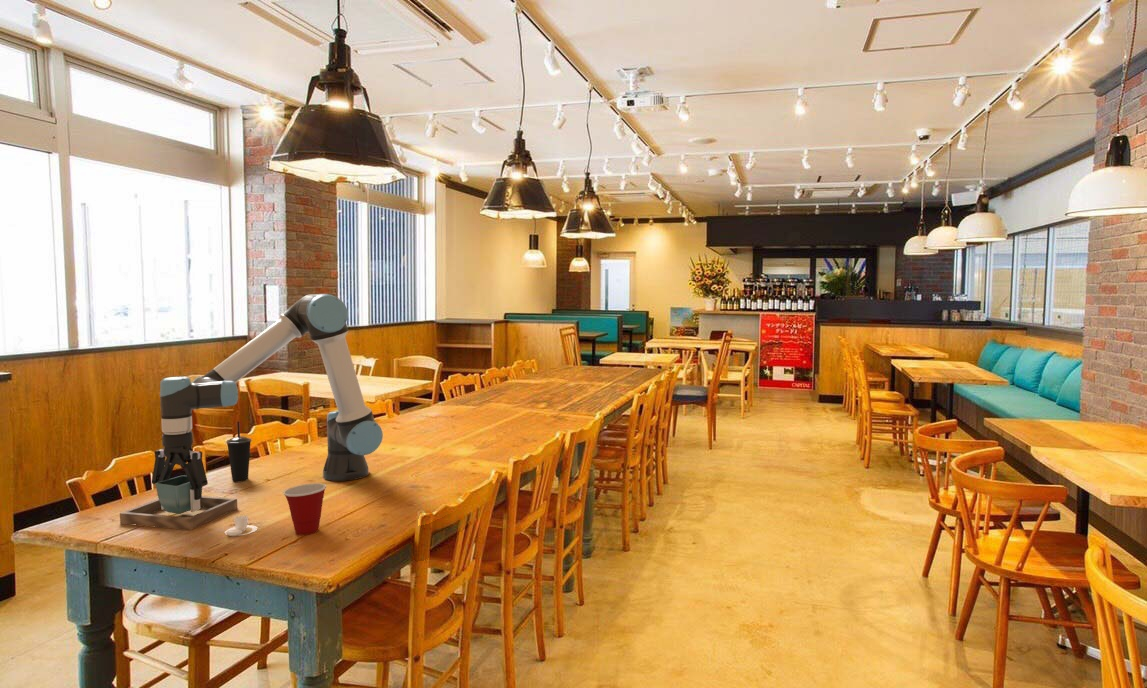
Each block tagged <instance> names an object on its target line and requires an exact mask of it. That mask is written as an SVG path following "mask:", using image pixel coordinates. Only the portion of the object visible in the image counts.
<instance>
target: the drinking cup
mask: <svg viewBox="0 0 1147 688" xmlns="http://www.w3.org/2000/svg"><path fill="white" fill-rule="evenodd" d="M240 424H241V423H240V421H237V422H236V426H237V430H236V432H237V436H234V437H232V438H230V439H228V440H226V444H227V451H228V459H229V467H230V472H231V480H232V482H236V483H238V482H240V483H241V482H245V481H248V480H249V471H250V470H249V469H250V455H251V442H252V438H250V437H247V436H241V432H240V430H241V429H240Z"/></svg>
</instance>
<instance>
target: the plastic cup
mask: <svg viewBox="0 0 1147 688" xmlns="http://www.w3.org/2000/svg"><path fill="white" fill-rule="evenodd" d="M326 488H327V485H326V484H325V483H320V482H318V483H316V482H314V483H313V482H311V483H305V484H300V485H296V486H293V487H289V488H287V489H284V491H283V492H282V493H283V496H284V497H285V498H286V501H287V503H288V508H289V512H290V516H291V520H292V524H293V528H294V529H293V530H294V532H295V534H296V535H300V536H302V535H303V536H304V535H305V536H307V535H311V534H315V533H317V532H318V531H319V529H320V522H321V521H320V520H321V517H322V508H323V503H324V501H323V500H324V496H325V490H326Z"/></svg>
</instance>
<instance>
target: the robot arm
mask: <svg viewBox="0 0 1147 688" xmlns="http://www.w3.org/2000/svg"><path fill="white" fill-rule="evenodd" d="M348 318H349V313H348V308H347V306H346V303H345V302H344V301H343V300H342V299H340V298H339V297H337V296H335V295H333V294H331V293H310V294H307V295H305V296H303V297H301V298H300V299H298V300H297V301H296V302H295V303H293V304H292V305H290V307H289V308H287V309H286V310H285V311H283V312H282V313H281V314H279V319H278V320H277V321H276V322H274V323H272V325H270V326H269V327H267V328H266V329H265V330H263V331H262V332H261V333H259V334H258V335H257V336H255V337H254V338H252V339H251V340H250V341H248V342H247V343H246V344H244V345H243V346H242V347H240V348H239V349H238V350H236V351H235V352H233V353H232V354H231V355H230V356H228V357H227V358H226V359H224V360H223V361H221V362H220V363H219V364H218V365H216V366H215V367H213V369H211V370H209V371H208V372H207V373H205V374H204V375H201V376H198V377H196V378H194V379H193V381H192V380H191V378H190V377H189V376H171V377H164V378H162V379H161V380H160V383H159V384H160V385H159V388H160V389H159V399H160V401H159V403H160V417H161V419H160V420H161V432H162V435H161V437H162V438H161V442H162V443H161V445H162V447H163V448H161V449H157V450H155V451H154V458H155V459H154V465H153V471H152V478H151V483H152V484H153V485H155V483H157V482H161V481H164V480H168V479H171V478H170V477H171V475H172V473H173V471H174V468H175V466H176V465H177V466H180V467H181V469H182V470H183V471H184V472H185V476H187V477H188V479H189V482H190V484H191V486H192V488H191V489H190V503H191V510H190V512H191V513H194V512H197V511H199V510H201V507H200V499H201V497H202V496H203V495H202V494H203V493H202V494H201V488H202V489H203V487H205V486H208V478H207V475H206V471H205V465H204V463H203V462H204V461H203V452H202V451H201V450H200V451H193V448H192V445H193V443H194V436H193V435H194V433H193V431H192V429H193V413H192V412H193V410H199V409H212V408H222V407H223V408H226V407H232V406H235V405H236V404H237V403H238V401H239V389H238V385H237V382H239V381H240V380H241V379H243V378H244V377H246V376H247V375H248V374H249V373H251V372H252V371H253V370H255V369H256V368H257V367H259V366H260V365H261V364H262V363H264V362H265V361H266V360H268V359H269V358H271V357H272V356H273V355H275V354H276V353H277V352H279V350H281V349H282V348H283V347H285V346H286V345H288V344H289V343H290V342H291V341H293V340H294V339H295V338H299V339H300V338H302V337H303V336H305V335H306V334H308V333H309V337H310V340H311V342H313V343H315V344H317V346H318V349H319V352H320V356H321V359H322V362H323V366H324V369H325V373H326V376H327V379H328V382H329V385H330V389H331V392H332V396H333V398H334V402H335V406H336V408H337V410H333V411H329V412H328V413H327V416H326V419H327V420H326V431H327V432H326V434H327V435H326V436H327V455H326V456H327V457H326V460H325V463H324V466H323V470H322V477H323V479H324V480H327V481H332V482H334V481H335V482H342V481H343V482H346V481H353V480H358V479H361V478H365V477H367V476H368V475H369V472H370V471H369V465H368V462H367V459H366V457H365V456H368V455H371V454H372V453H374V452H375V451H377V449H378V448H380V446H381V443H382V442H383V437H384V435H383V434H384V432H383V429H382V427H381V426H380V425H379V424H378V422H376V421H375V418H374V414H373V411H372V409H371V407H368V406H367V405H366V404H365V400H364V397H363V393H362V390H361V387H360V384H359V380H358V377H357V373H356V369H355V366H354V363H353V360H352V355H351V351H350V349H349V346H348V342H347V339H346V336H347V335H348V333H349V329H348V328H349V327H348V325H347V321H348ZM196 483H197V484H196ZM161 510H162V511H163V510H165V509H164V508H163V506H162V505H161ZM161 510H160V511H161Z"/></svg>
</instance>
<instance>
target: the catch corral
mask: <svg viewBox="0 0 1147 688" xmlns="http://www.w3.org/2000/svg"><path fill="white" fill-rule="evenodd" d="M200 508H206V510H203V511H202V512H199V513H196V514H194V515H192V516H190V517H186V516H175V515H166V514H165V515H164V514H163V515H162V514H154V513H156V512H159V511H161V503H160V501H159V498H156V499H154V500H151V501H149V502H146V503H144V504H141V505H138V506H135V507H133V508H131V509H128V510H125V511H122V512H119V524H120V523H122V524H121V525H127V524H136V525H135V526H138V525H146V526H145V527H149V526H155V527H154V528H160V527H165V528H164V529H171V528H175V529H174V530H182V529H186V530H185V531H191V530H193V529H196V528H198V527H200V526H202V524H203V525H205V524H206V523H209V522H211V521H213V520H216V519H218V518H220V517H222V516H224V515H226V514H229V513H231V512H233V511H235V510H237V509H238V498H232V497H231V498H230V497H221V496H220V497H218V496H207V495H202V497H201V499H200ZM204 523H205V524H204Z"/></svg>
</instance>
